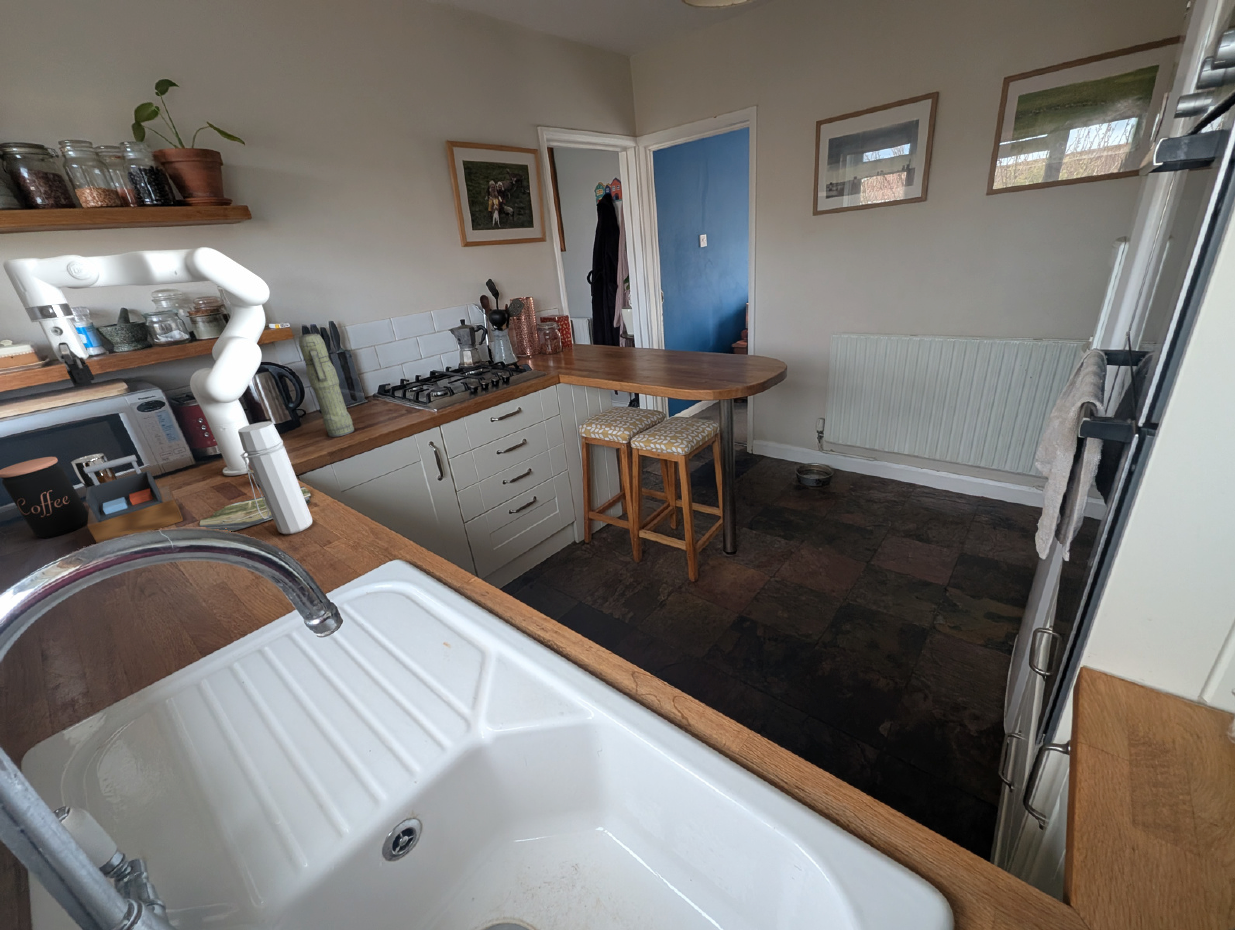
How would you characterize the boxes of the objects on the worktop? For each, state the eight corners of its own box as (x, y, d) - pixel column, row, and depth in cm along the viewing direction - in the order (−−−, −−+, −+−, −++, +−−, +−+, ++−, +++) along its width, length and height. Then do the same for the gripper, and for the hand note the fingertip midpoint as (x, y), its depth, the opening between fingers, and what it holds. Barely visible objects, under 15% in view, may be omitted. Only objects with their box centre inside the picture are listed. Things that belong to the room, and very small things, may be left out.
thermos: (330, 439, 182) (295, 338, 168) (326, 432, 191) (292, 335, 177) (357, 432, 186) (325, 333, 173) (351, 425, 196) (321, 330, 182)
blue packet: (126, 502, 130) (124, 497, 129) (127, 508, 126) (124, 502, 126) (105, 508, 127) (102, 503, 127) (105, 514, 124) (102, 509, 123)
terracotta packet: (152, 493, 133) (149, 488, 133) (153, 499, 130) (150, 493, 129) (132, 499, 131) (129, 494, 130) (132, 505, 127) (129, 499, 127)
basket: (159, 490, 137) (140, 452, 132) (162, 502, 129) (142, 462, 124) (99, 508, 129) (76, 468, 125) (98, 522, 121) (74, 480, 117)
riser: (178, 505, 142) (168, 485, 139) (183, 520, 132) (172, 499, 130) (100, 529, 132) (88, 509, 130) (100, 548, 123) (87, 526, 120)
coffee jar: (28, 544, 129) (-15, 478, 122) (47, 526, 138) (8, 464, 131) (83, 530, 133) (45, 465, 126) (98, 514, 142) (64, 453, 135)
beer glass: (111, 514, 141) (83, 463, 135) (92, 514, 143) (63, 463, 137) (137, 501, 147) (111, 452, 141) (118, 502, 149) (92, 453, 143)
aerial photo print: (203, 547, 118) (200, 540, 117) (193, 522, 131) (190, 516, 130) (321, 503, 133) (319, 498, 132) (302, 485, 146) (300, 480, 145)
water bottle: (308, 516, 126) (270, 418, 116) (318, 526, 121) (279, 424, 111) (266, 533, 121) (222, 431, 111) (274, 543, 115) (229, 438, 105)
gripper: (68, 312, 122) (103, 384, 128) (75, 310, 134) (106, 376, 141) (22, 317, 117) (61, 391, 124) (34, 315, 130) (68, 382, 136)
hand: (85, 383), depth 132 cm, fingers open, 9 cm apart
